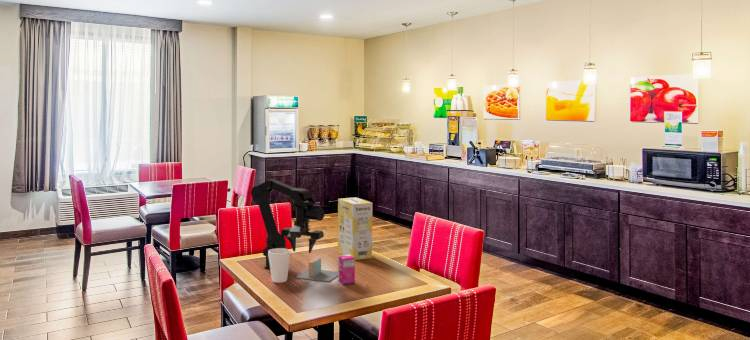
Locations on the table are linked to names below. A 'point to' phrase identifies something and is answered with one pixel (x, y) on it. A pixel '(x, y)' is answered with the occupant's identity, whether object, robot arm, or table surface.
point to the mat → (319, 276)
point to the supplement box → (346, 269)
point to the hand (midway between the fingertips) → (302, 252)
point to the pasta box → (355, 227)
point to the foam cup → (279, 264)
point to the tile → (314, 267)
